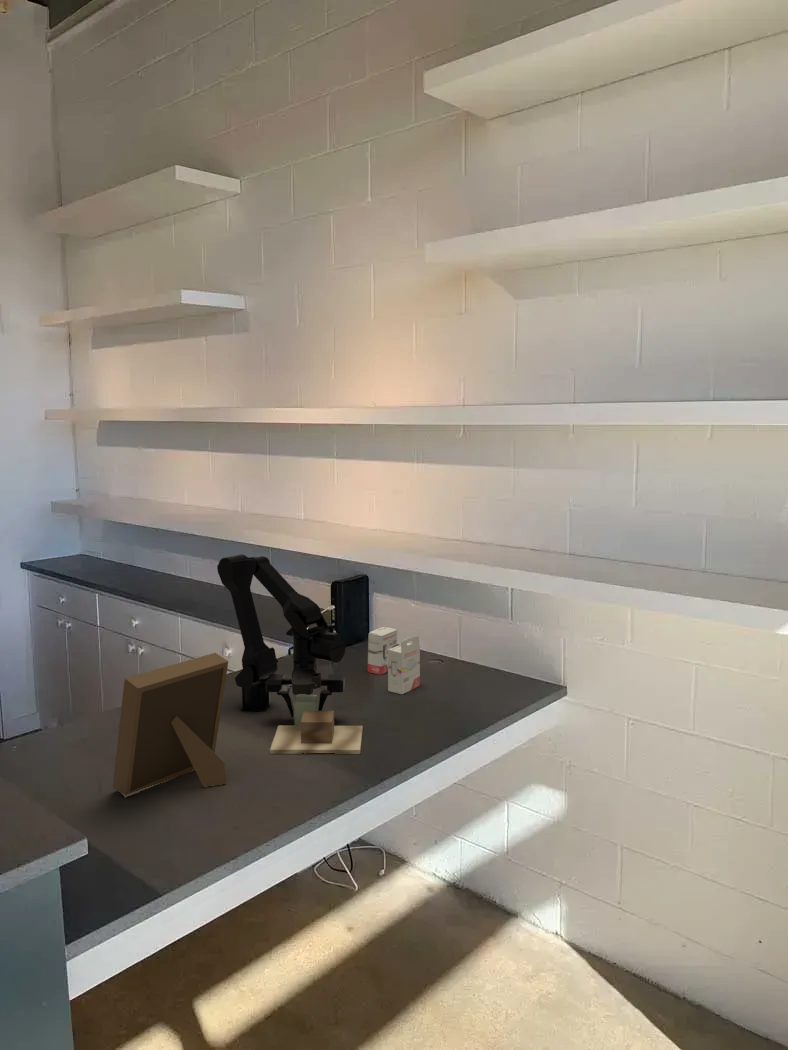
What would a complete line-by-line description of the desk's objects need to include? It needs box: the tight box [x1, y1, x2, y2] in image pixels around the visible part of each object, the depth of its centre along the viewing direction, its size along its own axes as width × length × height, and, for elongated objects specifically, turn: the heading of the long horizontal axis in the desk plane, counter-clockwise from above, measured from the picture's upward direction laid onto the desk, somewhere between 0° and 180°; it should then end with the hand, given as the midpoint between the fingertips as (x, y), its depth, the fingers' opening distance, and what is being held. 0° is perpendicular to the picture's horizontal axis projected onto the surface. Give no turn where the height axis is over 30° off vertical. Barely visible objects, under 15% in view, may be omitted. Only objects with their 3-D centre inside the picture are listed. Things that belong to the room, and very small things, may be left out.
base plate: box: [269, 710, 364, 755], centre depth 195 cm, size 20×14×6 cm
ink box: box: [367, 626, 398, 676], centre depth 246 cm, size 9×5×12 cm, turn 147°
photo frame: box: [112, 652, 229, 795], centre depth 171 cm, size 15×22×25 cm
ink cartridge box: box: [387, 634, 421, 695], centre depth 229 cm, size 9×5×15 cm, turn 143°
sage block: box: [293, 694, 318, 726], centre depth 206 cm, size 5×5×6 cm
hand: (306, 716), depth 207 cm, fingers open, 6 cm apart
